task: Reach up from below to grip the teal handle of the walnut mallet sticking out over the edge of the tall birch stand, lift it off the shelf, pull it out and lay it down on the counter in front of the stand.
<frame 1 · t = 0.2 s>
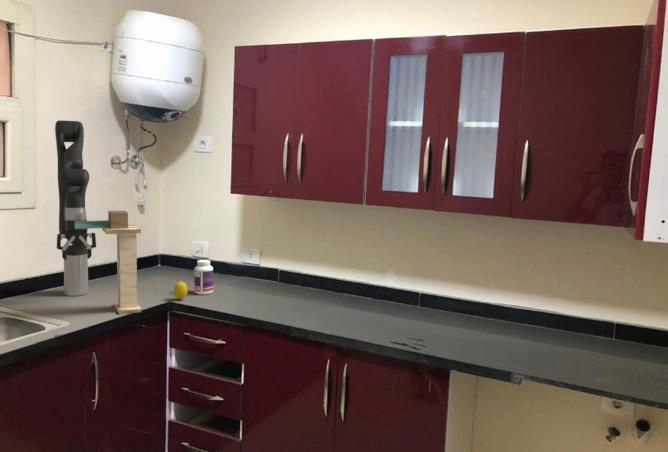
hand: (77, 259, 222), 17 cm above the worktop, tool pointing down, fingers open, 8 cm apart
stand: (122, 308, 215), on the worktop
pill bottle: (203, 293, 245), on the worktop
lemon: (180, 300, 232), on the worktop
mallet: (118, 227, 211), point 32 cm above the worktop, touching stand
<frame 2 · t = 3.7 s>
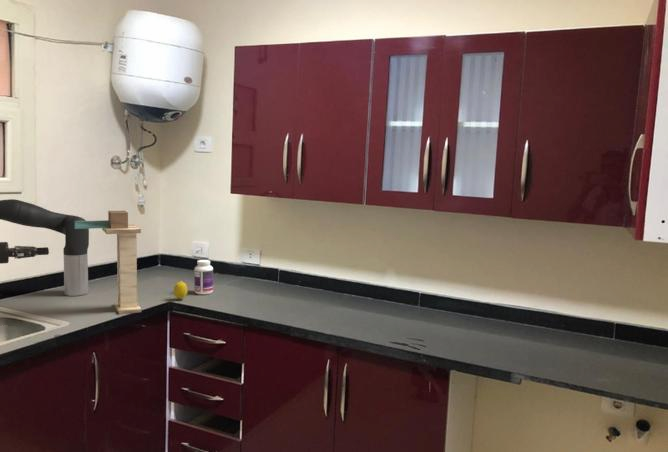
hand: (48, 250, 201), 24 cm above the worktop, tool horizontal, fingers closed
nothing on the worktop moved.
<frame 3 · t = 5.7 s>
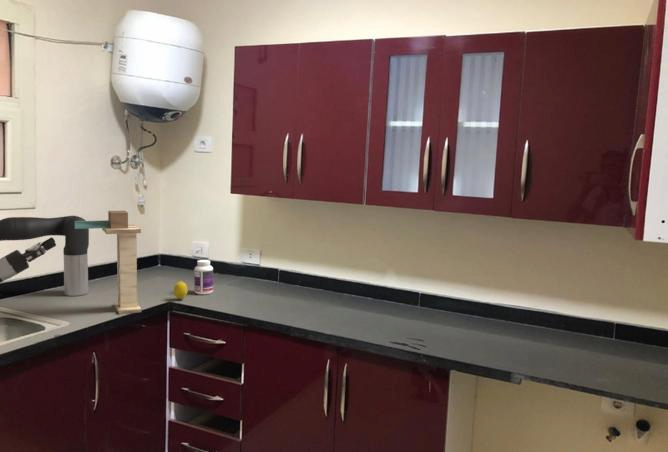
hand: (54, 241, 201), 28 cm above the worktop, tool pointing upward, fingers open, 8 cm apart
nothing on the worktop moved.
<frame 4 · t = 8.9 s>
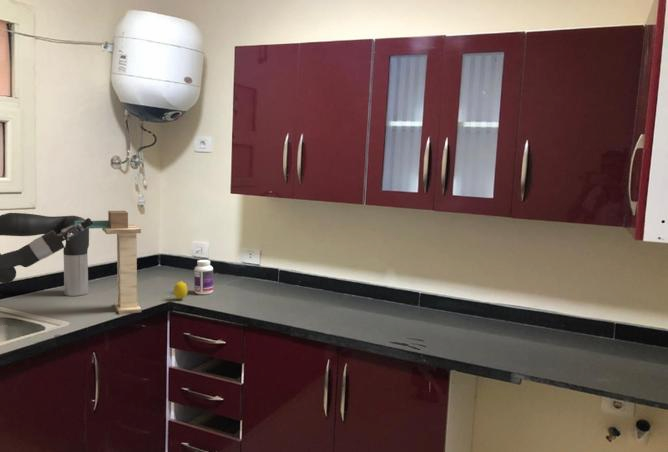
hand: (91, 220, 206), 35 cm above the worktop, tool pointing upward, fingers closed on mallet, 2 cm apart
mallet: (118, 227, 211), point 32 cm above the worktop, touching gripper, stand
everything else where it was.
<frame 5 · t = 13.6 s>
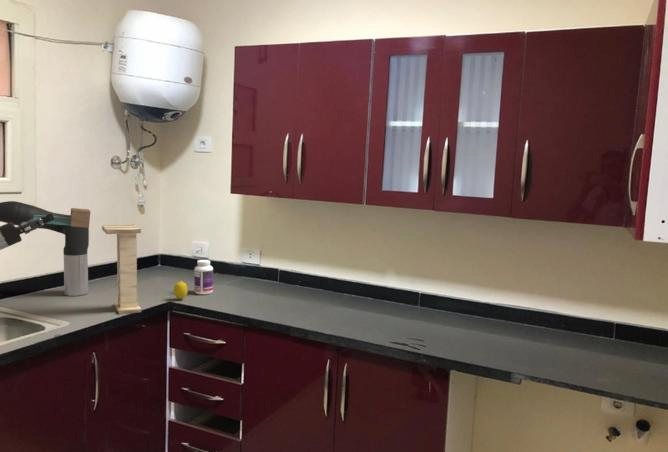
hand: (52, 216, 200), 37 cm above the worktop, tool pointing upward, fingers closed on mallet, 2 cm apart
mallet: (79, 225, 204), point 33 cm above the worktop, tilted 6°, touching gripper
everything else where it was.
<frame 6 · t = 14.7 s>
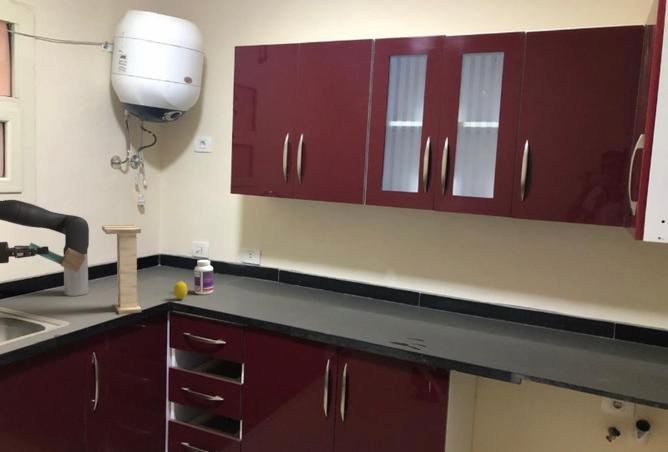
hand: (48, 250, 201), 24 cm above the worktop, tool horizontal, fingers closed on mallet, 2 cm apart
mallet: (68, 267, 204), point 18 cm above the worktop, tilted 29°, touching gripper
everything else where it was.
when the fingers open (11 cm above the worktop, at t = 18.3 s): mallet drops 4 cm, on the worktop.
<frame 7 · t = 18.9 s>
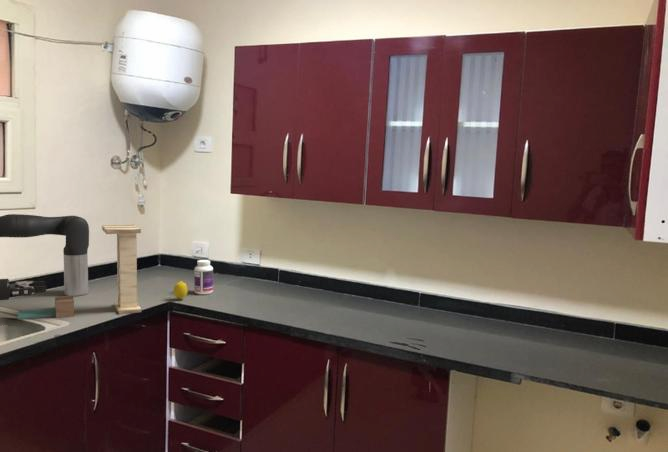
hand: (45, 286, 202), 11 cm above the worktop, tool horizontal, fingers open, 8 cm apart
mallet: (64, 314, 206), on the worktop
everything else where it was.
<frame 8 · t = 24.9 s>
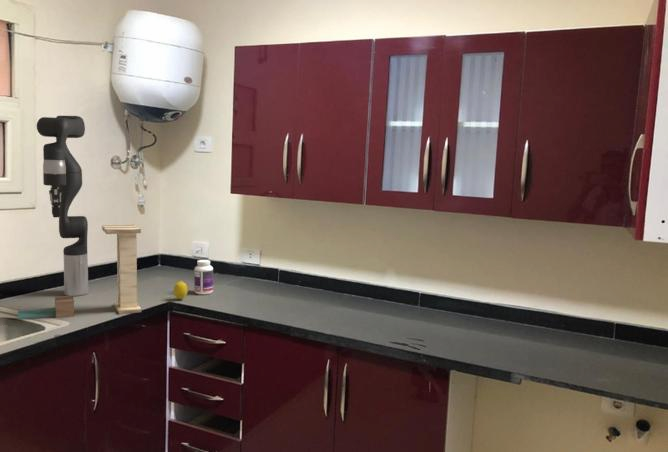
hand: (55, 216, 206), 36 cm above the worktop, tool pointing down, fingers open, 8 cm apart
nothing on the worktop moved.
at the end: mallet inside the target area (0.9 cm from its centre), on the worktop; the gripper is holding nothing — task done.
